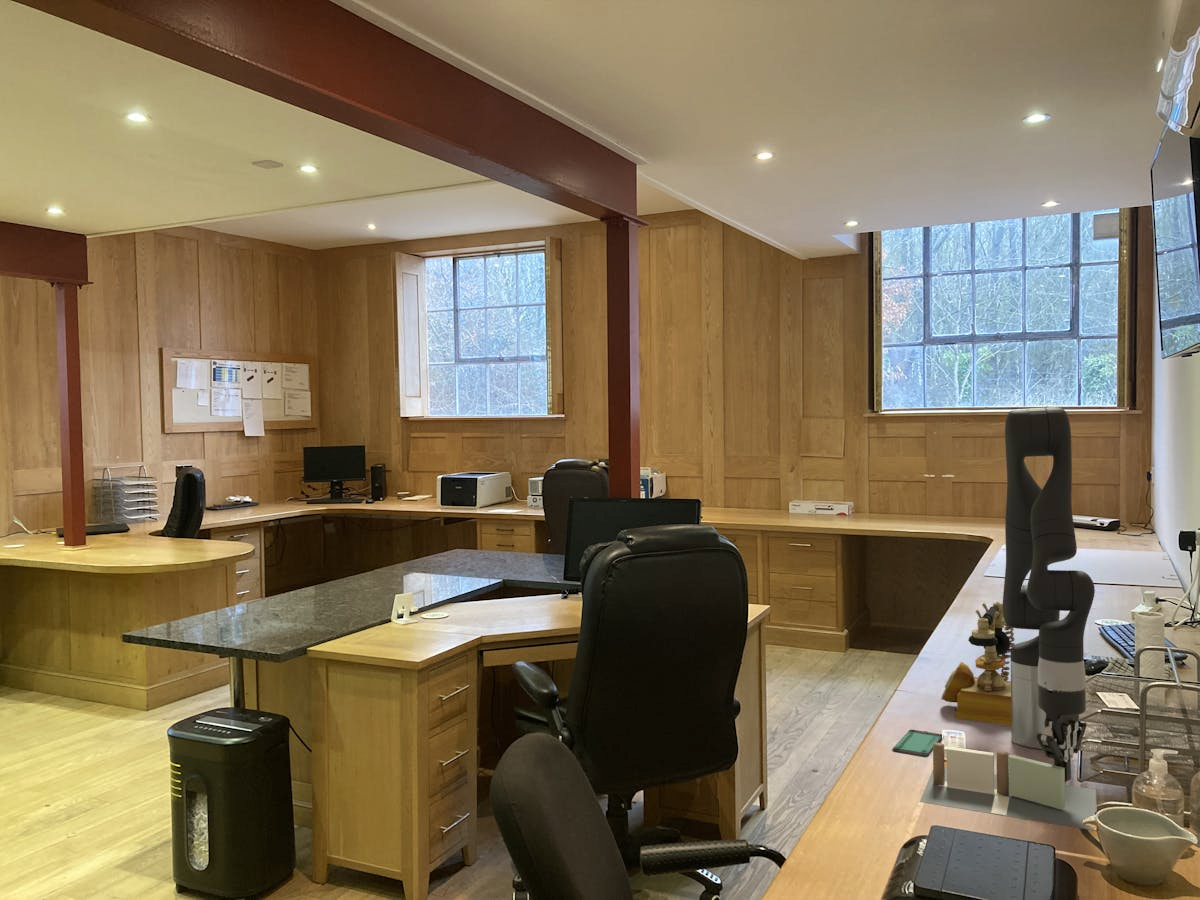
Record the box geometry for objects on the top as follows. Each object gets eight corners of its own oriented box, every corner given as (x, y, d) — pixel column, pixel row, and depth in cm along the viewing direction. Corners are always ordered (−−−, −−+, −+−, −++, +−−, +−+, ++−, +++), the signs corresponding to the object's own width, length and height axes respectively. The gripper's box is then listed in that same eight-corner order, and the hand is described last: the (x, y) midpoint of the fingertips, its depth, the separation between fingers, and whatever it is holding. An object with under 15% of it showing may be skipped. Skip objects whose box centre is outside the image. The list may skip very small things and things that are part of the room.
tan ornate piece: (959, 683, 238) (958, 588, 237) (1034, 693, 229) (1033, 593, 228) (929, 722, 208) (928, 613, 207) (1014, 734, 199) (1013, 620, 198)
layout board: (934, 767, 180) (934, 765, 180) (1095, 791, 167) (1095, 788, 167) (919, 803, 164) (919, 800, 164) (1097, 833, 151) (1097, 830, 151)
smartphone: (944, 733, 198) (927, 754, 185) (944, 739, 198) (927, 760, 185) (909, 728, 202) (890, 748, 189) (909, 733, 202) (890, 754, 189)
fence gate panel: (1009, 794, 165) (1008, 756, 165) (1012, 792, 166) (1012, 754, 166) (1061, 809, 158) (1061, 770, 158) (1064, 807, 159) (1064, 767, 159)
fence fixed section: (934, 780, 173) (933, 742, 173) (1009, 792, 167) (1008, 752, 167) (932, 784, 171) (932, 745, 171) (1008, 796, 165) (1008, 755, 165)
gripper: (1060, 671, 168) (1061, 764, 169) (1020, 685, 160) (1021, 783, 161) (1101, 680, 162) (1103, 776, 162) (1063, 695, 154) (1064, 796, 155)
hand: (1062, 779), depth 162 cm, fingers closed
